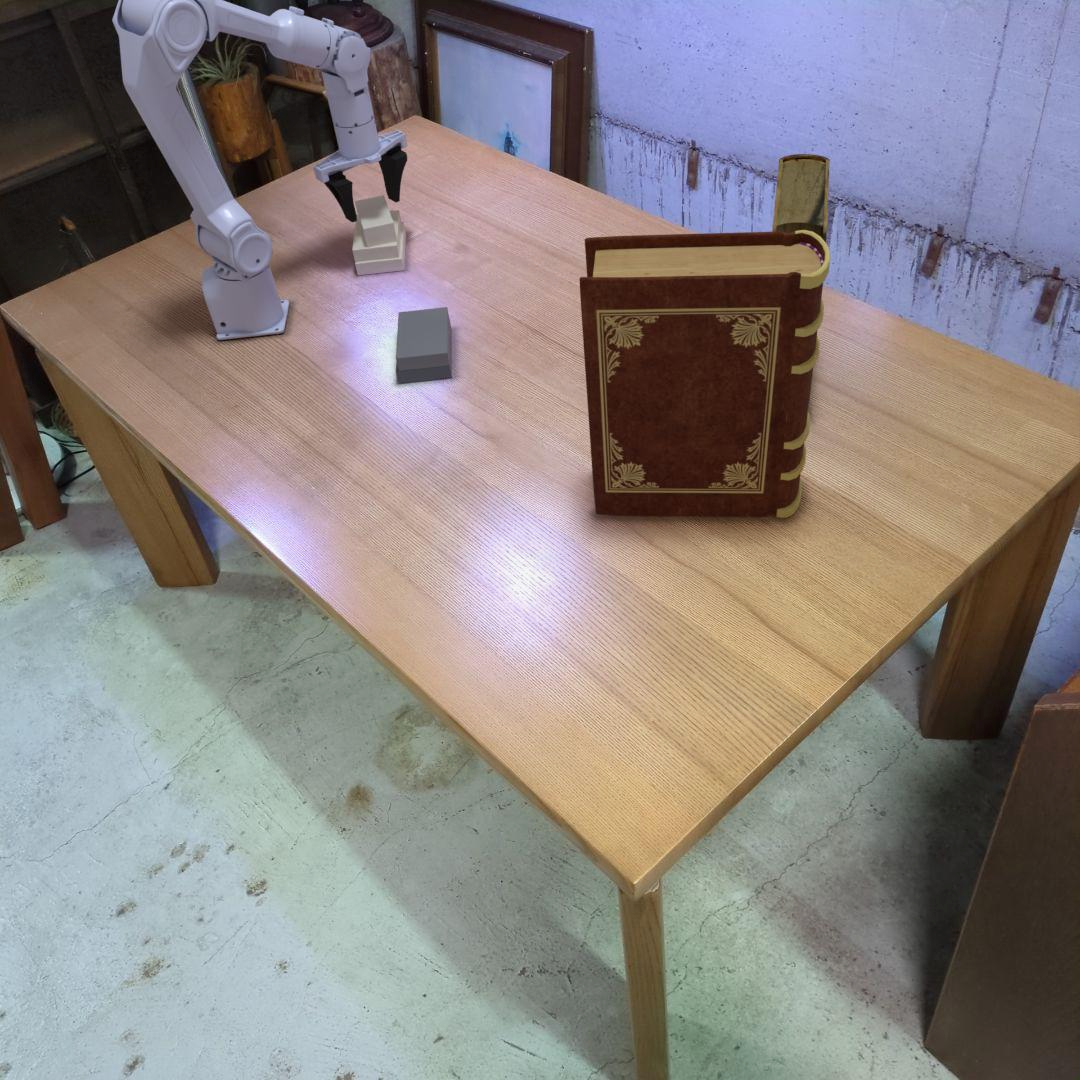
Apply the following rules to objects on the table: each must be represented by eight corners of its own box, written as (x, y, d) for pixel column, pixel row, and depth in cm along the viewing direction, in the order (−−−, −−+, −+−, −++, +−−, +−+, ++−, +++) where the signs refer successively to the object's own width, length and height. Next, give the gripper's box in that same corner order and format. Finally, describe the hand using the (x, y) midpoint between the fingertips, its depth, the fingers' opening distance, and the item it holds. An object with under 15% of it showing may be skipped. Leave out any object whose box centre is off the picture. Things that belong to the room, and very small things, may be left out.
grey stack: (398, 384, 137) (392, 358, 134) (400, 335, 145) (395, 310, 142) (451, 378, 137) (447, 352, 134) (451, 330, 145) (447, 305, 142)
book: (765, 338, 137) (779, 153, 119) (809, 340, 136) (829, 154, 118) (758, 418, 126) (772, 227, 108) (805, 421, 125) (827, 228, 107)
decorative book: (798, 469, 119) (826, 227, 98) (803, 519, 114) (834, 274, 92) (599, 469, 122) (584, 234, 101) (595, 517, 116) (578, 280, 95)
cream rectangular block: (367, 247, 155) (363, 228, 152) (358, 219, 161) (354, 200, 159) (397, 241, 155) (393, 222, 153) (387, 213, 161) (383, 194, 159)
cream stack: (357, 275, 157) (351, 251, 154) (361, 238, 165) (356, 214, 162) (404, 270, 157) (399, 246, 154) (406, 233, 165) (401, 209, 162)
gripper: (324, 145, 141) (346, 237, 150) (412, 108, 147) (428, 199, 156) (297, 131, 145) (320, 221, 154) (384, 95, 151) (401, 184, 160)
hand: (372, 209), depth 156 cm, fingers open, 7 cm apart
